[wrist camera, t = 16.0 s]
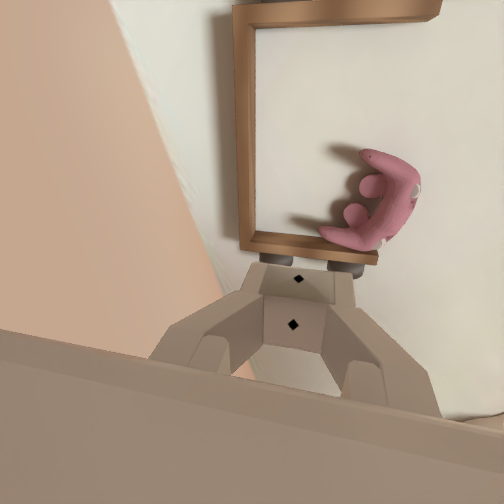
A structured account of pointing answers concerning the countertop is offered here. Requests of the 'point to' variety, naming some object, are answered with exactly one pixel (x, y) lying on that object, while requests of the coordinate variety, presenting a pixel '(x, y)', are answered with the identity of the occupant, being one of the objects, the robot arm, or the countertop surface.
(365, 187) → the video game controller
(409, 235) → the countertop surface
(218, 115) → the countertop surface
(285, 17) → the chassis bay
